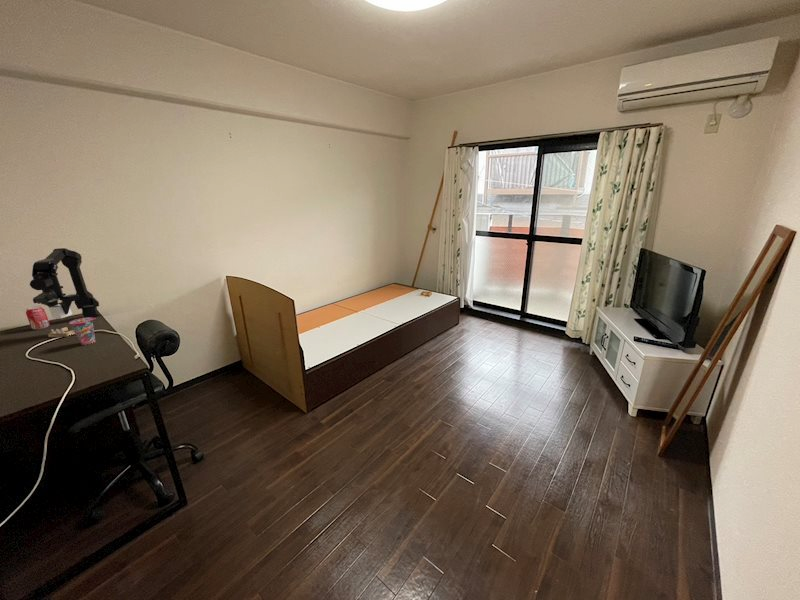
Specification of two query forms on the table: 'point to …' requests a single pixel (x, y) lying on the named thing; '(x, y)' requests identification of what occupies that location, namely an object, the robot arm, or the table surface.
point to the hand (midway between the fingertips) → (62, 314)
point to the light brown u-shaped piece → (60, 332)
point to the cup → (84, 330)
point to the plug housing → (58, 311)
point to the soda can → (37, 317)
